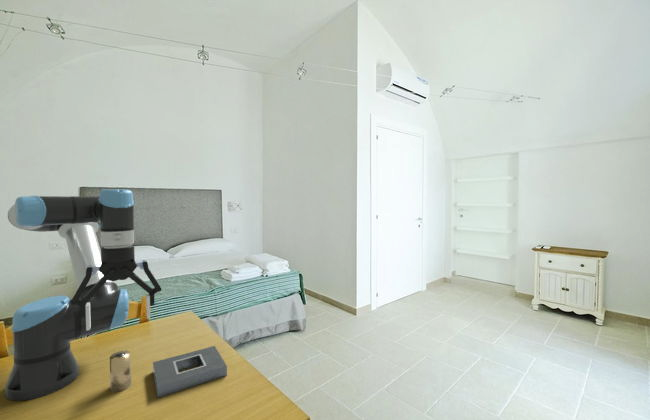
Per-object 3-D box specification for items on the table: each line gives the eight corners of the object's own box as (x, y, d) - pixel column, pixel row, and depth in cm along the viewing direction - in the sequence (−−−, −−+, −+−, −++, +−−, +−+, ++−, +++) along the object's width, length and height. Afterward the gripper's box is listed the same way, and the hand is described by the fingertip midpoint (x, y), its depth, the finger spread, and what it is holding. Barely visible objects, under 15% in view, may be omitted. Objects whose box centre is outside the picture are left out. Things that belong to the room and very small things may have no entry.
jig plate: (153, 371, 91) (152, 361, 90) (214, 354, 101) (214, 345, 101) (157, 397, 79) (157, 386, 79) (226, 375, 89) (226, 365, 89)
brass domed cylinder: (110, 385, 84) (109, 353, 84) (131, 379, 87) (130, 348, 87) (110, 394, 80) (109, 361, 80) (131, 388, 83) (130, 355, 83)
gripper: (54, 252, 72) (57, 339, 73) (170, 243, 86) (172, 317, 87) (59, 248, 78) (62, 328, 79) (167, 240, 92) (168, 308, 93)
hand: (119, 322), depth 83 cm, fingers open, 13 cm apart
